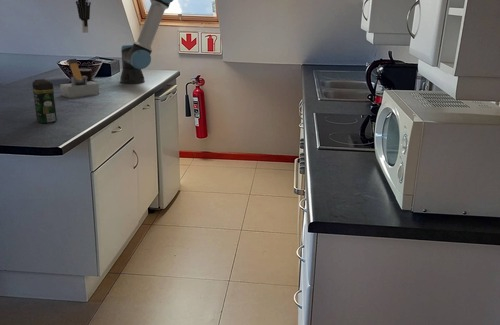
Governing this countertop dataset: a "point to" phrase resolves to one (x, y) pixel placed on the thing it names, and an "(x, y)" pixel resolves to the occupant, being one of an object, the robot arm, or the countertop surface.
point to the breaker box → (79, 88)
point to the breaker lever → (75, 71)
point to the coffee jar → (44, 101)
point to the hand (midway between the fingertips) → (85, 32)
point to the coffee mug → (86, 73)
